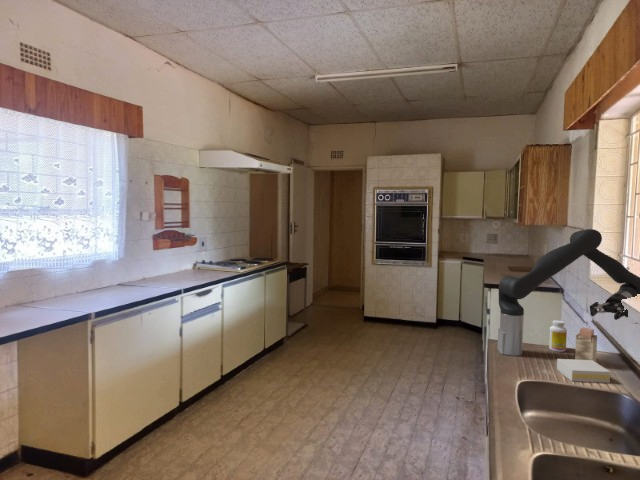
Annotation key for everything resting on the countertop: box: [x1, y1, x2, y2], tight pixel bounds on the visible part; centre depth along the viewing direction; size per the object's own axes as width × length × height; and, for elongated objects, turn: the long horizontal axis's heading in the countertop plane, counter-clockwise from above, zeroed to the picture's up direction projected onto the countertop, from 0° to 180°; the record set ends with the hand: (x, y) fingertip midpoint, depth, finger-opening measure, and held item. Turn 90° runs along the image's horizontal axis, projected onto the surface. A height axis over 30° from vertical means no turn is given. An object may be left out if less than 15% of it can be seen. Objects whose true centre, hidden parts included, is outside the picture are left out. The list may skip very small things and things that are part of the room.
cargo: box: [579, 327, 595, 341], centre depth 174 cm, size 4×4×4 cm
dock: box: [556, 358, 611, 384], centre depth 161 cm, size 13×12×4 cm
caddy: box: [574, 332, 598, 363], centre depth 174 cm, size 6×6×12 cm
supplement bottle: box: [548, 319, 568, 353], centre depth 191 cm, size 7×7×13 cm
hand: (603, 315), depth 176 cm, fingers open, 8 cm apart
